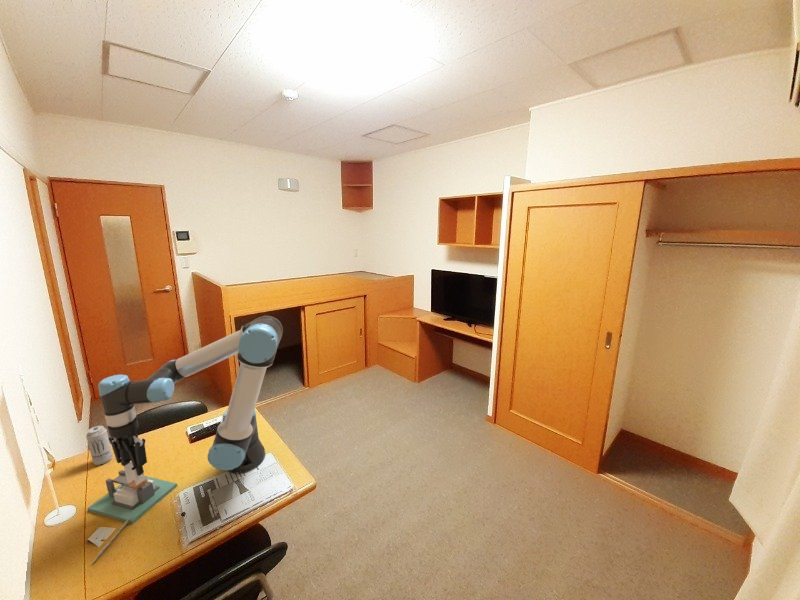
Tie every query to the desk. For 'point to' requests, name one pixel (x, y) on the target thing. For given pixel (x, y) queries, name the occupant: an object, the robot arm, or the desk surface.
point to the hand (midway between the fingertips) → (136, 480)
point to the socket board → (138, 510)
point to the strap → (123, 481)
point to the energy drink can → (99, 445)
